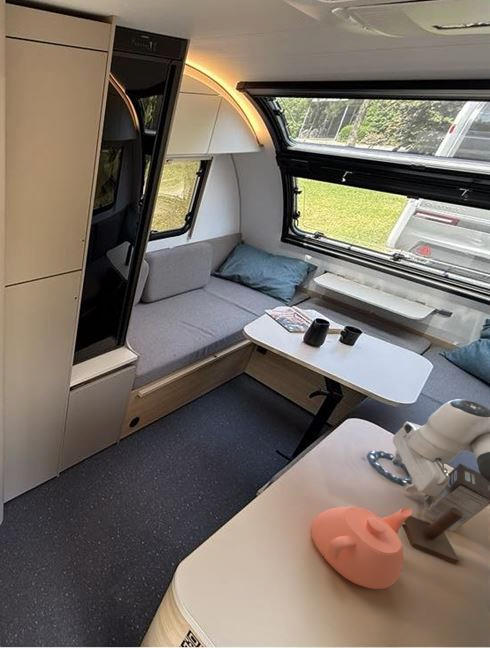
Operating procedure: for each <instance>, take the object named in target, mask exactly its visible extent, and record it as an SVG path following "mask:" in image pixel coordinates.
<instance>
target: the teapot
mask: <svg viewBox="0 0 490 648" xmlns="http://www.w3.org/2000/svg"><path fill="white" fill-rule="evenodd" d="M412 515H413V510H412V509H411V508H409V507H404V508H401V509H399V510H397V511H396V512H394V513H393V514H391V515H388V516H385V517H383V518H381V517H380V516H378V515H377V514H376V513H374V512H373V511H371V510H369V509H367V508H365V507H360V506H339V507H332V508H329V509H326V510H324V511H322V512H320V513H319V514H317V515H316V516H315V517H314V518H313V519H312V521H311V525H310V534H311V538H312V540H313V543H314V545H315V547H316V549H317V550H318V552H319V553H320V555H321V556H322V557H323V556H324V557H323V558H324V560H325V561H326V562H327V563H328V564H329V565H330V566H331V567H332V568H333V569H334V570H335V571H336V572H337V573H338V574H340V575H341V576H342V577H343V578H345V579H346V580H348V581H349V582H352V583H353V584H356V585H358V586H361V587H365V588H367V589H371V590H372V589H374V590H380V589H381V590H383V589H387V588H389V587H391V586H392V585H394V584H395V583H396V581H398V578H399V577H400V576H401V573H402V571H403V566H404V548H403V543H402V540H401V538H400V536H399V535H398V533H399V531H400V529H401V527H402V524H404V521H405V520H406V519H407V518H408V517H410V516H412Z"/></svg>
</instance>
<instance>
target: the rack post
mask: <svg viewBox="0 0 490 648" xmlns="http://www.w3.org/2000/svg"><path fill="white" fill-rule="evenodd" d="M463 517H464V514H463V513H462V512H461V511H460V510H459V509H457V508H454V507H451V508H450V509H449V510H447V511H446V512H445V513H444V514H443V515H441V516H440V517H439V518H438V519H437V520H435V521H433V522H428V521H426V520H423V519H420V518H417V517H414V516H412V515H411V516H410V517H408V518H407V519H406V520H405V521H404V522H403V524H402V525H401V527H402V528H403V530H404V531H403V532H405V535H406V537H407V539H408V542H409V544H410V546H411V547H412V548H415V549H417V550H420V551H423V552H425V553H427V554H431V555H433V556H435V557H437V558H439V559H442V560H445V561H447V562H450V563H452V564H457V563H459V562H460V559H459V557H458V555H457V554H456V552H455V550H454V548H453V546H452V544H451V543H450V540H449V538H448V536H447V535H446V533H445V532H446V531H448V529H449V528H450V527H451V526H452V525H454V524H455V523H456V522H458V521H459V520H460V519H461V518H463Z"/></svg>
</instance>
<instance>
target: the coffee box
mask: <svg viewBox="0 0 490 648" xmlns="http://www.w3.org/2000/svg"><path fill="white" fill-rule="evenodd" d="M448 476H449V482H448V484H447V486H446V487H445V488H444V489H443V491H442V492H441V493H440V494H439V495H438V496H430V495H427V494H425V495H424V499H423V508H422V509H423V510H422V515H423V516H425V517H426V518H428V519H430V520H432V521H433V522H434V521H435V520H437V519H438V518H439V517H440V516H441V515H443V514H444V513H445V512H446V511H447V510H449V509H450V508H451V507H454V508H457V509H459V510H460V511H461V512H462V513H463V514H464V517H463V518H461V519H460V520H459V521H458V522H456V523H455V524H454V525H452V526H451V527H450V528H449V529H447V531H450V532H452V533H453V532H455V531H456V530H458V529H459V528H460V527H462V526H463V525H464V524H466V523H467V522H468V521H469V520H471V519H472V518H474V517H475V516H476V515H478V514H479V513H480V512H482V510H484V509H486V508H487V507H488V506H489V505H490V482H489V481H488V480H486V479H485V478H484V477H483V476H482V475H481V473H480V472H478V471H476V470H474V469H472V468H471V467H469V466H466V465H464V464H462V463H458V465H456V466H455V467H454V468H453V469H452V470H451V471H450V472H449V474H448Z"/></svg>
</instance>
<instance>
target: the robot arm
mask: <svg viewBox="0 0 490 648" xmlns="http://www.w3.org/2000/svg"><path fill="white" fill-rule="evenodd" d="M392 444H393V445H394V447H395V449H396V450H395V452H394V454H393V455H394V458H393V459H392V460H390V461H391V463H392V465H393V466H395V467H397V468H398V467H400V468H401V465H402V464H403V463H404V464H405V466H406V468H407V470H408V472H409V474H410V476H411V478H412V480H413V481H412V484H409V483H406V484H405V485H404V486H403V488H404V490H405V492H408V493H411V494H412V493H414V492H415V491H418V492H419V493H422V494H425V495H426V494H427V495H430V496H438V495H439V494H440V493H441V492H442V491H443V489H444V488H445V487H446V486H447V484H448V482H449V476H448V474H449V473H450V472H449V470H448V469H447V467H446V466H445V465H447V464H449V463H451V462H452V460H454V459H455V458H456V457H457V456H459V454H460V453H462V452H463V451H468V452H470V453H473V456H474V458H475V460H476V464H477V468H478V471H479V473H480V474H481V475H482V476H483V477H484V478H485V479H486V480H488V481H489V482H490V408H488V407H486V406H485V405H483V404H481V403H478V402H477V401H472V400H468V399H463V398H462V399H461V398H455V399H452V400H449V401H447V402H445V403H444V404H442V405H441V406H440V407H439V408H437V409H436V410H435V411H434V412H433V413H432V414H431V415H429V417H428V419H427V422H426V423H425V424H423V425H420V424H417V423H413V422H411V421H405V422H404V423H403V425H402V427H401V428H399V430H397V432H395V434H394V435H393V437H392ZM402 461H403V463H402Z"/></svg>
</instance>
